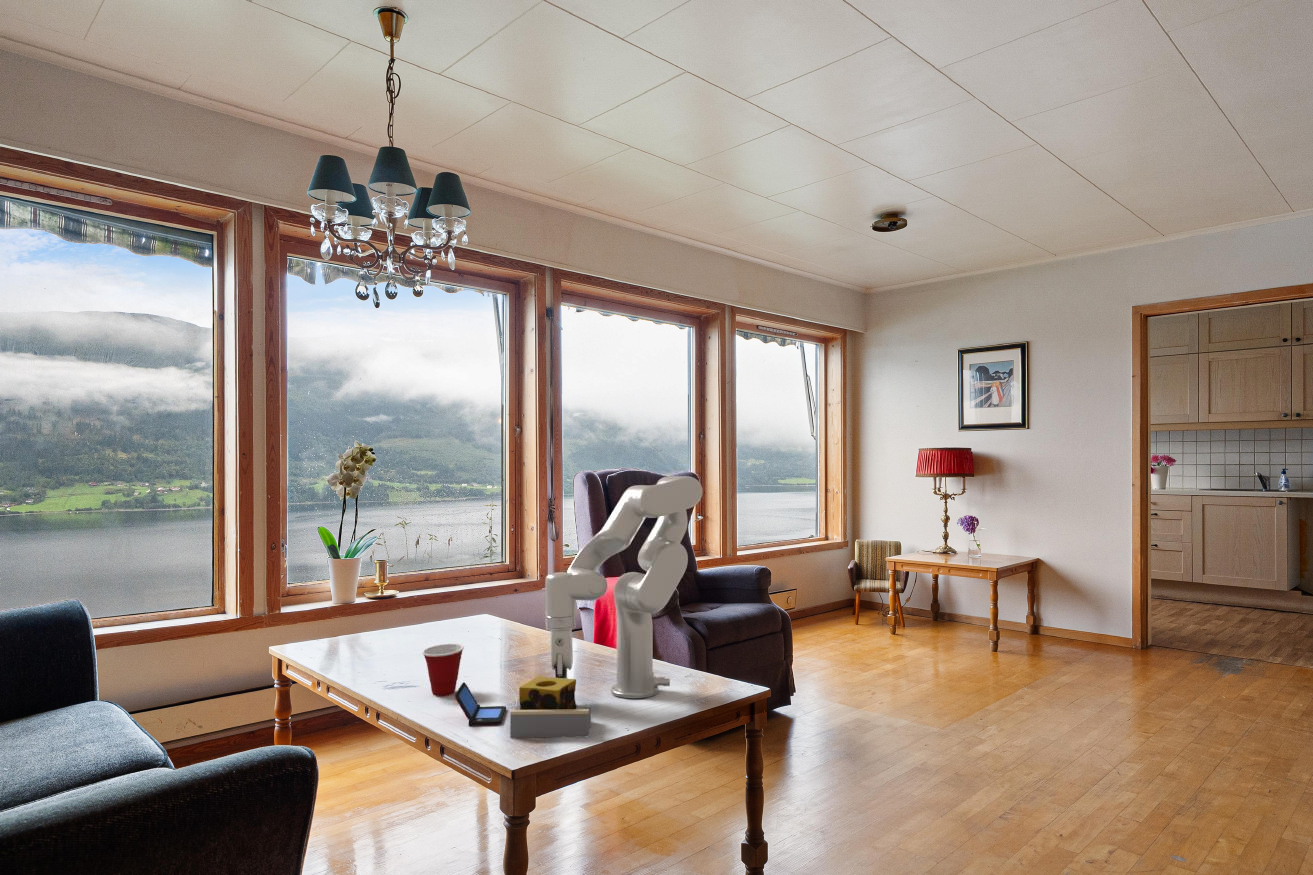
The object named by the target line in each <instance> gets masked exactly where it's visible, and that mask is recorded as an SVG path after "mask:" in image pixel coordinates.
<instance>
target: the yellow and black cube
mask: <svg viewBox="0 0 1313 875" xmlns="http://www.w3.org/2000/svg"><path fill="white" fill-rule="evenodd" d="M576 686H577V679H576V678H568V679H566V678H555V677H553V676H537V677H535V678H533V679H532V680H530V681H528V682H525V683H524V684H522V685H520V686H519V690H518V694H519V695H518V696H519V697H518V698H519V699H518V702H519V705H520V710H558V709H577V707H578V706H577V703H576V697H575V696H576V694H575V693H576Z"/></svg>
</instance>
